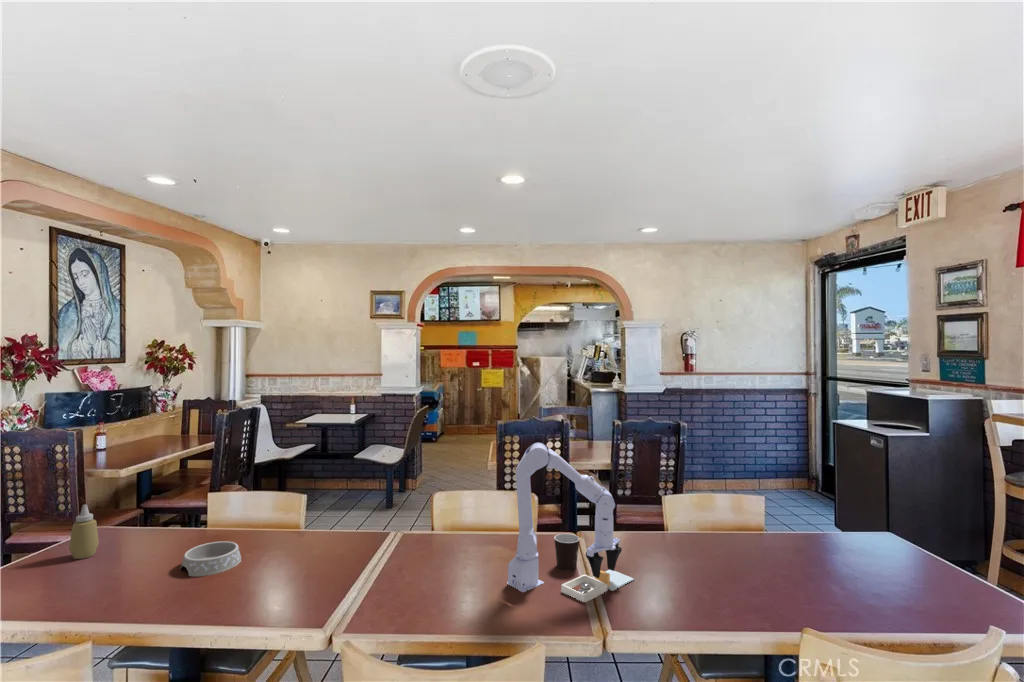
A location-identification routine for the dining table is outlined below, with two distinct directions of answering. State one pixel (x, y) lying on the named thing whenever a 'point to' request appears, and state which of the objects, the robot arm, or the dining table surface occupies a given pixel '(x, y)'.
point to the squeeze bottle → (84, 535)
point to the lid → (613, 579)
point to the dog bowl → (211, 558)
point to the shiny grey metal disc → (583, 591)
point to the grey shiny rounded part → (586, 585)
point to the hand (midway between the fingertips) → (603, 573)
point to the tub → (591, 593)
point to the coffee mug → (566, 551)
